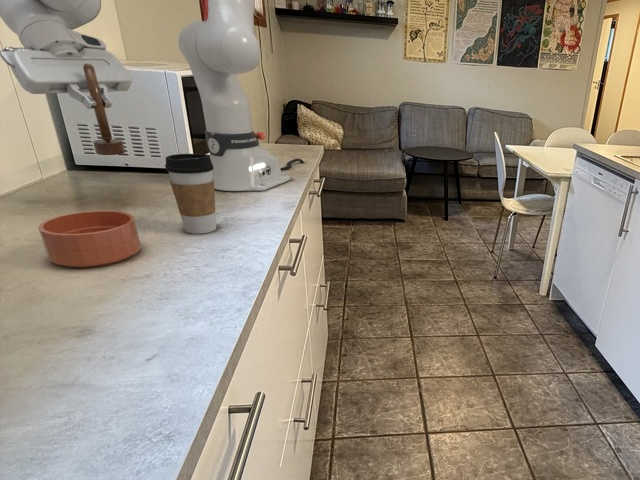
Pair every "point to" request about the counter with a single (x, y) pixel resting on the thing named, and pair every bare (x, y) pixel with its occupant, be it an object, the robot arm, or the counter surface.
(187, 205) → the coffee cup
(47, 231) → the bowl
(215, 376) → the counter surface
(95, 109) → the brown pestle
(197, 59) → the robot arm
